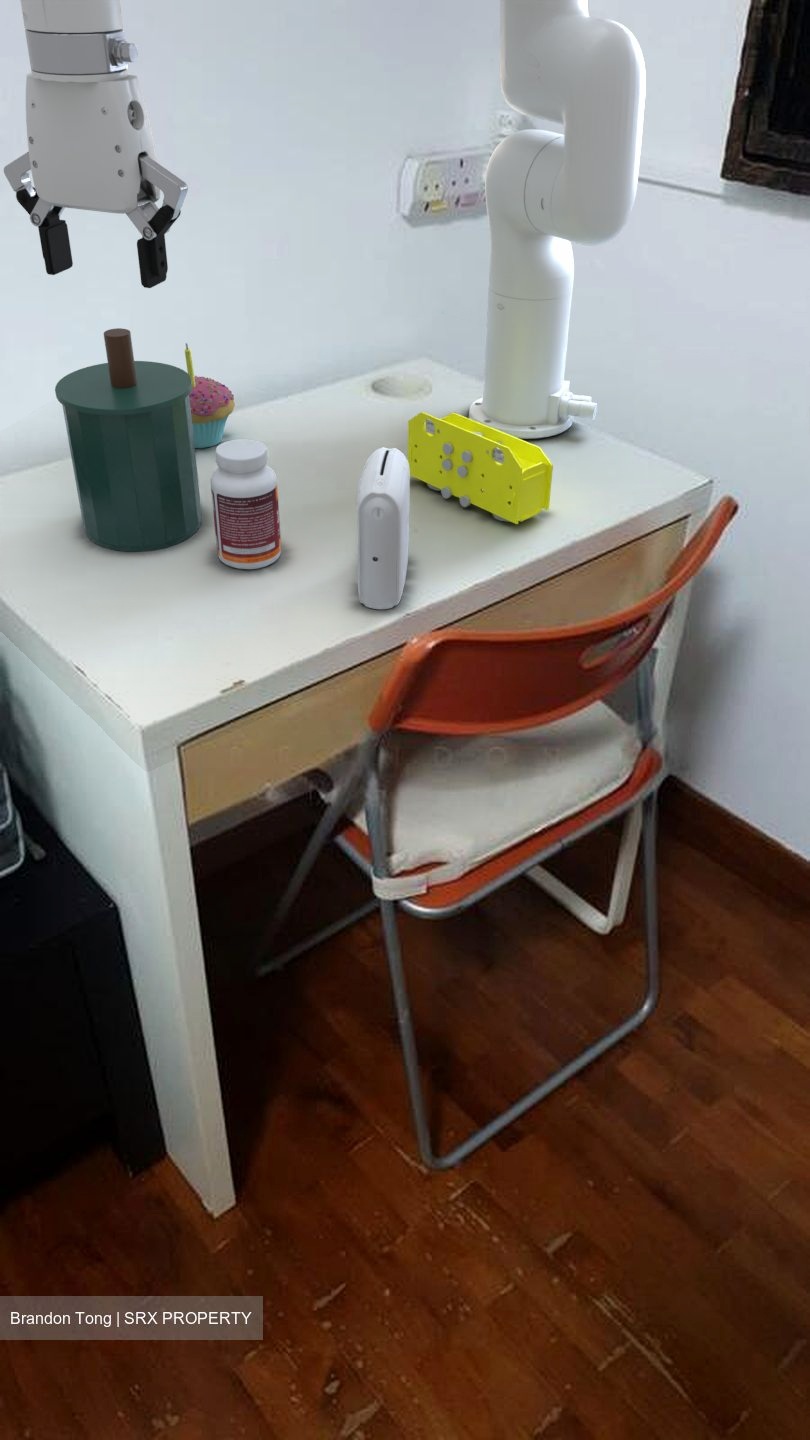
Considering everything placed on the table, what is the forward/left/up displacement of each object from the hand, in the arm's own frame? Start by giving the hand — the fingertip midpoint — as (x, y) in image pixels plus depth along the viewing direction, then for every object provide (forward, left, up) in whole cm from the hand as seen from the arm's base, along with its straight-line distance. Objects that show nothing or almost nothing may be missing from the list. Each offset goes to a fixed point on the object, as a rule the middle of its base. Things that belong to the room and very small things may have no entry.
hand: (106, 277), depth 102 cm
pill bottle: (-13, +2, -25) cm, 28 cm away
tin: (0, 0, -24) cm, 24 cm away
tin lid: (0, 0, -10) cm, 10 cm away
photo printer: (-27, +2, -25) cm, 37 cm away
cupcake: (+5, -21, -25) cm, 33 cm away
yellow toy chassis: (-30, -18, -25) cm, 43 cm away
